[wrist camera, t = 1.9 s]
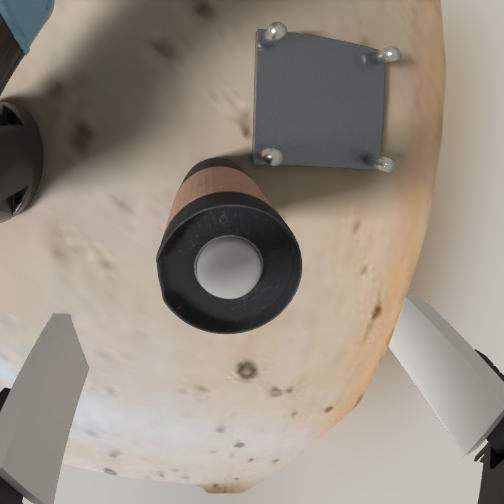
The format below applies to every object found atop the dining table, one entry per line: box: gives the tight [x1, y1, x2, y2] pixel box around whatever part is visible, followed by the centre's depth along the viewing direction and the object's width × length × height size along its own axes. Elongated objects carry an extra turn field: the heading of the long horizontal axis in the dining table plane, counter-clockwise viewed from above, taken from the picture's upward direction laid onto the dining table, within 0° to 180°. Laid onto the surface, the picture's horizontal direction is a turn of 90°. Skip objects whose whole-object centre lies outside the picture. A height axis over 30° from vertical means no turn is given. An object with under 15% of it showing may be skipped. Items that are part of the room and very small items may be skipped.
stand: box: [252, 22, 401, 173], centre depth 28 cm, size 15×15×6 cm
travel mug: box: [156, 158, 302, 334], centre depth 24 cm, size 8×8×20 cm
